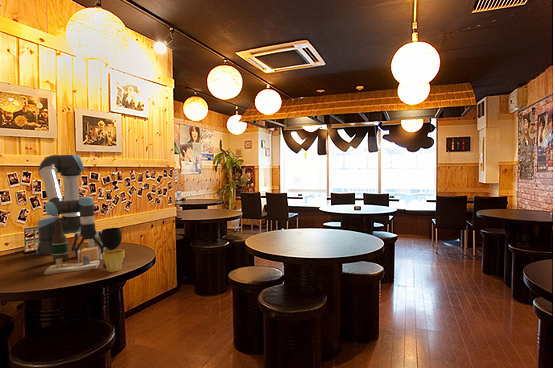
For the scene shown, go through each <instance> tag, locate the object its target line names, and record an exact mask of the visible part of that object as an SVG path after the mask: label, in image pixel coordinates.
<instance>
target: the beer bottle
mask: <svg viewBox="0 0 555 368" xmlns="http://www.w3.org/2000/svg"><path fill="white" fill-rule="evenodd" d="M68 242H69V241H68V238H67V236H66V234H63V229H62V221H55V235H54V237H53V239H52V250H53V254H52V261H53V262H54V263H56V259H59V258H62V263H63V261H64V262H67V261H69V258H70V257H69V245H68V244H69V243H68Z"/></svg>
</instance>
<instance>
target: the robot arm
mask: <svg viewBox="0 0 555 368" xmlns="http://www.w3.org/2000/svg"><path fill="white" fill-rule="evenodd" d="M84 169H85V168H84V162H83V159H82V158H81V156H80V155H78V154H52V155H49V156H47V157H45V158H44V159H43V160H42V161H41V162H40V163H39V167H38V172H39V176H41V177H42V181H43V185H44V189H45V193H46V197H47V202H46V203H45V208H44V209H45V214H46V215H47V216H48V217H43V218H41V219H39V220H38V221H37V230H38V231H37V232H38V233H37V234H38V245H37V248H36V255H37V256H38V255H39V256H46V255H53V250H52V239H53V237H54V235H55V221H62V229H63V234H64V235H70V234H74V239H73V243H72V247H71V251H74V252H75V257H76V258H77V263H78V262H81V254H80V251H81V250H80V248H81V246H82V244H83V242H84V241H85V240H88V239H93V240H94V241H95V242H96V243H97V244H98V246H99V247H100V249H99V260H100V261H102V260H103V253H104V252H105V251H103V248H104V247H105V246H104V245H102V244H101V243H100V242H99V241H98V239H97V238H96V237H95V235H96V233H97V234H98V235H99V237H100V239H101V233H102V230H96V223H95V221H96V220H95V219H96V218H95V217H96V216H95V202H94V197H92V196H82V197H80V192H79V191H80V190H79V177H80V176H81V175H82V173H83V172H84ZM58 174H59V175H60V176H61V177H62V178H63V179H62V182H63V192H62V190H61V185H60V181H59V178H58ZM59 215H61V217H59ZM80 236H81V239H80V242H79V243H78V244H77V242H78V240H79V237H80Z"/></svg>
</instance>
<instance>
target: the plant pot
mask: <svg viewBox="0 0 555 368" xmlns="http://www.w3.org/2000/svg"><path fill="white" fill-rule="evenodd" d="M124 258H125V250H124V249H115V250H107V251H106V250H105V251H104V252H103V254H102V260H103V261H104V264H106V267H105V268H106V270H107V272H109V273H115V272H119V271H121V270H122V266H123V264H122V262H123V263H124V261H123V260H124Z"/></svg>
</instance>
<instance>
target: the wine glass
mask: <svg viewBox="0 0 555 368" xmlns="http://www.w3.org/2000/svg"><path fill="white" fill-rule="evenodd" d="M101 231H102V233H101V241H102V244H103V245H104V246H105V247H106V250H108V251H111V250H117V248H118V247H119V246H120V245H121V243H122V239H123V237H122V236H123V235H122V231H121V228H120V227H110V228H104V229H101ZM123 264H124V261H123V262H122V265H123ZM102 267H104V268H107V267H106V264H105V263H104V264H103V265H102Z"/></svg>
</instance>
